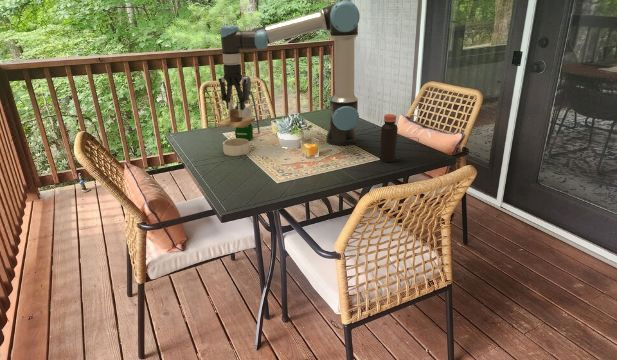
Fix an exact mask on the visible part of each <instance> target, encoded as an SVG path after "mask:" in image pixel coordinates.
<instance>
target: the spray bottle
mask: <svg viewBox="0 0 617 360" xmlns="http://www.w3.org/2000/svg"><path fill="white" fill-rule="evenodd" d="M242 77H243V78H245V79H248V83H247V97H248V100H247V101H246V102H248V103H247V104H251V101H250V97H251V100H252V105H253V109H254V113H255V121H256V125H257V134H258V135H259V134H260V133H261V132H260V123H259V122H260V121H259V116H258V115H259V114H258V110H257V106H256V100H255V96H254V94H253V90H252V89H251V88H252V81H251V78H250V77H249V76H248V75H244V76H242ZM242 85H243V83H242V82H241V89H243V87H242ZM241 91H242V95H243V90H241Z"/></svg>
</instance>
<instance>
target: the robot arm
mask: <svg viewBox="0 0 617 360" xmlns="http://www.w3.org/2000/svg"><path fill="white" fill-rule="evenodd" d="M360 18H361V15H360V10H359V8H358V6H357V5H356V4H355V3H353V2H352V1H349V0H339V1H337V2H335V3H332V4H330V5H329V6H326V7H321V9H320V10H319V11H316V12H312V13H308V14H304V15H302V16H298V17H294V18H290V19H287V20H283V21H279V22H275V23H272V24H267V25H264V26H260V27H255V28H252V29H251V30H240V29H239V26H238V25H222V26H221V27H220V41H221V50H222V51H221V52H222V62H223V66H222V67H223V76H222V77H220V78H218V79H217V80H218V82H219V86H220V94H221V100H222V101H223V102H225V103H226V109H227V110H228V117H230V110H232V109H233V106H234V105H233V101H232V92H233V91H232V89H233V86H234V88H235V90H236V94H237V98H238V102H239V103H238V111H239V117H242V116H243V112H242V110H243V109H244V102H248V101H247V100H248V97H247V83H248V79H245V78H243V77H244V76H243V74H242V64H241V62H242V61H241V50H259V51H260V50H266V49H267V48H268V45H269V44H272V43H275V42H278V41H284V40H286V39H291V38H294V37H298V36H301V35H305V34H310V33H313V32H318V31H321V30H324V31H326V32H327V31H330V33H329V34H330V37H331V39H333V44H334V45H333V47H334V53H333V54H334V95H331V96H330V98H329V127H328V131H327V134H326V136H325V137H326V140H325V141H326V142H327V143H328V144H330V145H334V146H350V145H354V144H355V143H357V141H358V137H357V132H356V130H355V127H357V125H358V123H359V119H360V115H359V112H358V110H359V109H358V104H359V103H358V97H356V95H355V39H356V38H357V37H358V36H359V22H360ZM225 81H226V82H225ZM242 83H243V85H242ZM242 87H243V88H242ZM242 91H243V95H242Z"/></svg>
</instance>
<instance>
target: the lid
mask: <svg viewBox="0 0 617 360" xmlns="http://www.w3.org/2000/svg"><path fill="white" fill-rule="evenodd" d="M255 121H256V117H252V118H244V117H239V111H238V109H232V110H230V117H229V116H228V117H227V118H224V119H222V120H221V121H218V122H217V123H216V126H217V127H226V128H227V127H230V128H234V127H241V128H244V127H246V126H247V125H249V124H250V123H252V124H253V122H255Z"/></svg>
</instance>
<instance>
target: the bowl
mask: <svg viewBox="0 0 617 360" xmlns="http://www.w3.org/2000/svg"><path fill="white" fill-rule="evenodd" d="M250 147H251V146H250V141H248V140H247V139H242V138H236V137H235V138H229V139H225V140H224V141H222V148H223V149H222V150H223V154H224V155H226V156H231V157H233V156H234V157H237V156H243V155H246V154H249V153H250V151H251V150H250V149H251V148H250Z"/></svg>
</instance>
